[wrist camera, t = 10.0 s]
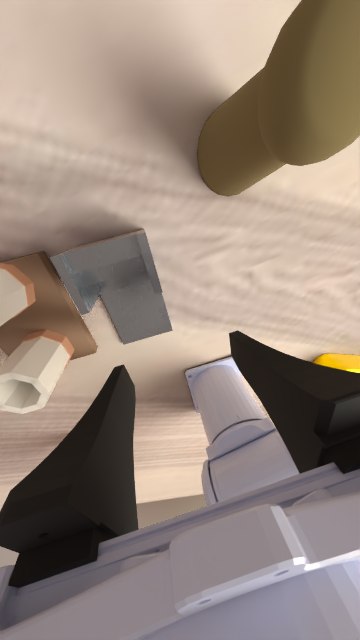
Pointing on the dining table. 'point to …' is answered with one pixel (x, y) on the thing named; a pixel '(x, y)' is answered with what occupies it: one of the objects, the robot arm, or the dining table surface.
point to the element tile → (340, 361)
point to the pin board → (46, 310)
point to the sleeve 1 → (14, 292)
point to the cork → (289, 101)
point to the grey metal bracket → (117, 283)
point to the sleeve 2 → (33, 371)
